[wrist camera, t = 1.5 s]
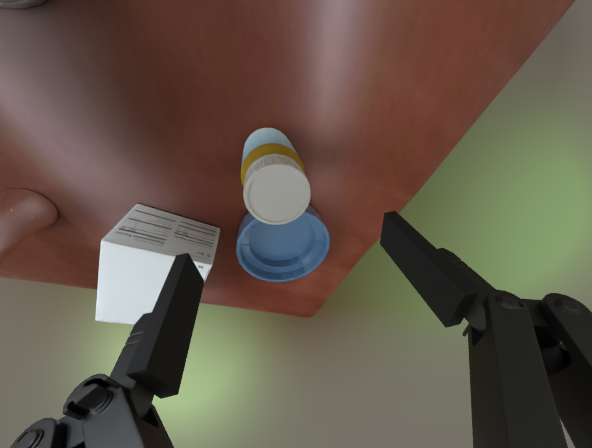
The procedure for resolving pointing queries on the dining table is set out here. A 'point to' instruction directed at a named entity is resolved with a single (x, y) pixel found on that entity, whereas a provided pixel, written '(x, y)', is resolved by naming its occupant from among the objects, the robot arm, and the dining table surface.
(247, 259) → the bowl
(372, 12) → the dining table surface
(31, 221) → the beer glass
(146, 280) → the supplement box
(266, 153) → the bottle
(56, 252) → the dining table surface
